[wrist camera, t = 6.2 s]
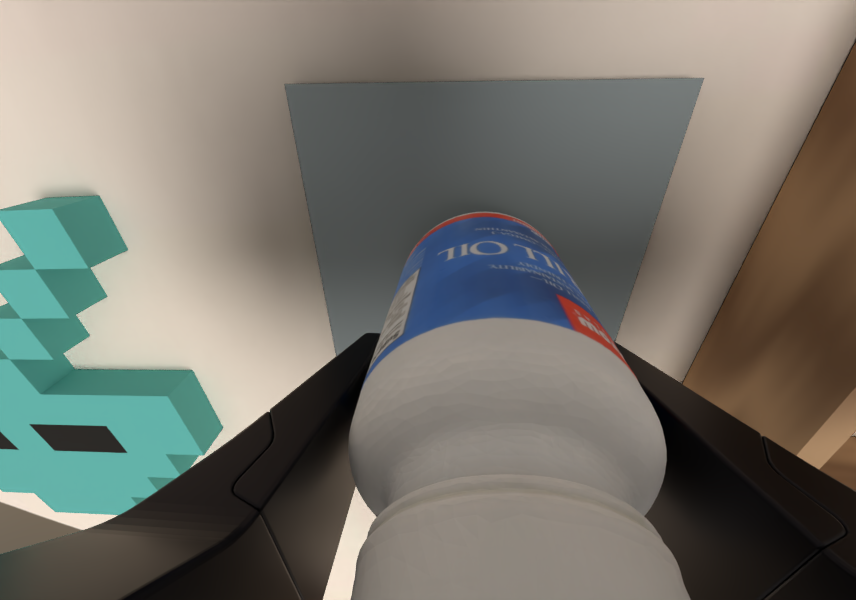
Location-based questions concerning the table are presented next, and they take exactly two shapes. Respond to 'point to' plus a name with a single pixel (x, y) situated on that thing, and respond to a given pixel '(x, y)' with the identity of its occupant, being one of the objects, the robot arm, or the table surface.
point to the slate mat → (484, 176)
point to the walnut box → (797, 305)
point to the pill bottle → (504, 434)
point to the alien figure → (82, 376)
